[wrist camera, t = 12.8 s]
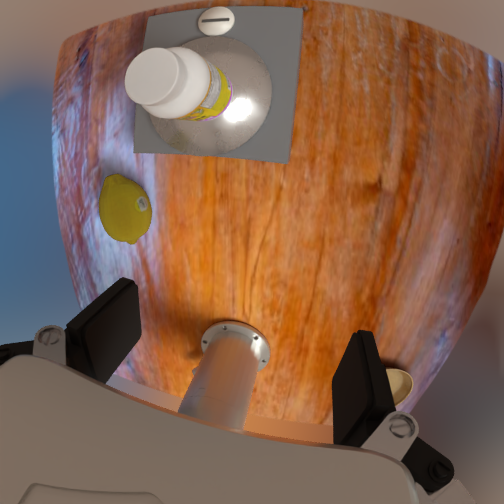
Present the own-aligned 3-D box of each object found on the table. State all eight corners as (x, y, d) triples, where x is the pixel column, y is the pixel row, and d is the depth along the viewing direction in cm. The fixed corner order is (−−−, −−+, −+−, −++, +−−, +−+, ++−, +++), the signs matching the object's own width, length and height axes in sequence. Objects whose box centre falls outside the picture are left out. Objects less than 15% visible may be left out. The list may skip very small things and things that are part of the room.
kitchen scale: (289, 160, 35) (286, 164, 30) (151, 150, 38) (130, 153, 33) (303, 23, 27) (302, 5, 22) (164, 26, 30) (145, 15, 24)
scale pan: (265, 161, 31) (264, 162, 30) (148, 153, 33) (144, 153, 32) (278, 39, 25) (277, 36, 24) (158, 44, 27) (155, 42, 26)
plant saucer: (424, 368, 45) (427, 377, 42) (382, 410, 51) (383, 419, 49) (368, 351, 45) (370, 361, 43) (328, 397, 51) (328, 406, 49)
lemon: (164, 235, 43) (138, 255, 36) (124, 234, 44) (96, 253, 37) (156, 166, 39) (126, 174, 32) (115, 171, 40) (83, 180, 33)
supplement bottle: (171, 112, 29) (103, 107, 18) (191, 62, 27) (131, 32, 15) (222, 129, 29) (171, 127, 18) (244, 77, 26) (205, 43, 15)
